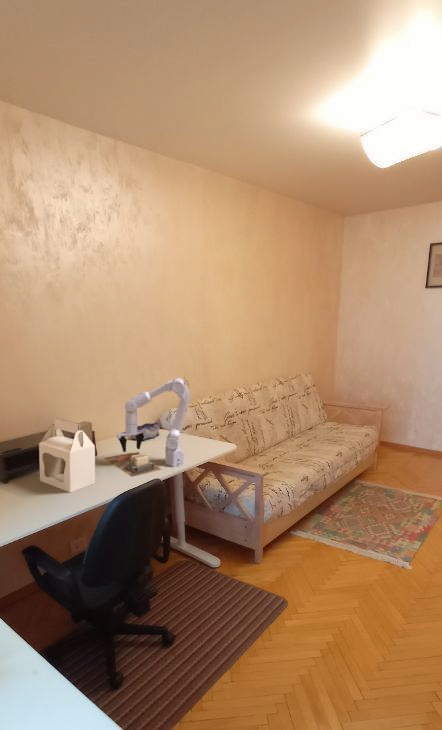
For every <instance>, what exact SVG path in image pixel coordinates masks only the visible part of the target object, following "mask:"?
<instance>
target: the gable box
mask: <svg viewBox="0 0 442 730" xmlns="http://www.w3.org/2000/svg"><path fill="white" fill-rule="evenodd" d="M78 423H79V422H73V421H69V420H64V419H61V418H55V419H54V423H53V424H52V423H51V424H50V427H48V430H47V431H46V432H45V434H44V436H43V437H42V439H41V440H40V441H39V443H38V451H39V452H38V454H39V460H38V461H39V482H42V483H45V484H46V485H49V486H51V487H55V488H57V489H59V490H63V491H65V492H67V493H73V492H75V491H79V490H81V489H84V488H87V487H89V486H91V485H94V484H96V446H95V444H94V443H93V441H92V442H91V440H90V439H89V438H88V437H87V435H86V434H85V433H84V432H83V431H82V430H80V429H81V425H78ZM62 431H65V432H67V433H68V432H72V433H75V436H73V438H71V437H67V436H64V434H63V432H62Z"/></svg>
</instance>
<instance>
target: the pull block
mask: <svg viewBox="0 0 442 730" xmlns="http://www.w3.org/2000/svg"><path fill="white" fill-rule="evenodd" d="M130 453H131V454H127V453H125V454H126V455H122V454H120V455H121V456H116V455H115V456H116V460H117V461H122V460H127V459H131V464H132V465H134V466H136V467H140V466H145V465H148V461H149V456H148V455H146V454H144V453H140V452H139V451H136V452H130Z"/></svg>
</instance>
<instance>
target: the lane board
mask: <svg viewBox="0 0 442 730" xmlns="http://www.w3.org/2000/svg"><path fill="white" fill-rule="evenodd" d="M131 453H132V452H126V453H123V454H118V455H117V454H116V455H111V456H107V457H104V458H103V459H105V460H106V461H108V462H109V463H110V464H112V465H114V466H115V467H117V468H118V469H119V470H121V471H123V472H124V473H126V474H127V475H128V476H130V477H132V478H133V477H137V476H141V475H144V474H145V475H146V474H149V473H153V472H158V471H162V470H163V469H162V468H161V467H159V466H156V465H155V463H152V462H151V461H149V460H148V465H145V466H140V467H136V466H134V465H132V464H131V459H127V460H122V461H117V460H116V456H121V455H126V454H131Z"/></svg>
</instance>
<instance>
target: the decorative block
mask: <svg viewBox="0 0 442 730" xmlns="http://www.w3.org/2000/svg"><path fill="white" fill-rule="evenodd" d="M77 423H78V425H81V429H80V430H82V431H83V432H84V433H85V434H86V435H87V437H88V438H89V439H90V440H91V442H92V443H93V423H92V422H90V421H81V422H77ZM67 435H68V436H72V437H74V436H75V433H72V432H68V431H67Z"/></svg>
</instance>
